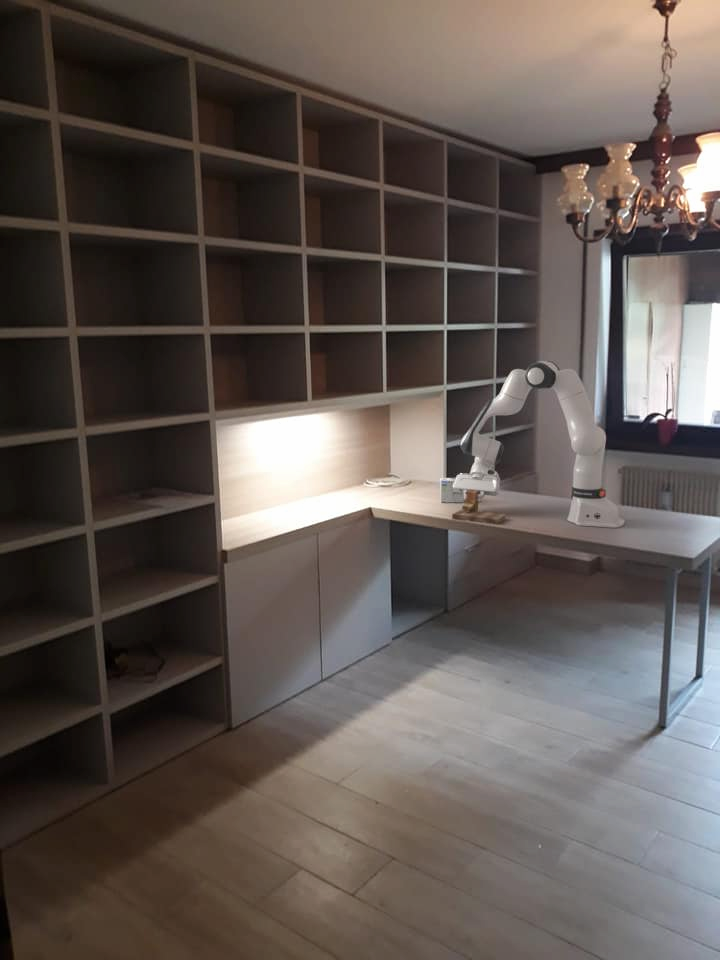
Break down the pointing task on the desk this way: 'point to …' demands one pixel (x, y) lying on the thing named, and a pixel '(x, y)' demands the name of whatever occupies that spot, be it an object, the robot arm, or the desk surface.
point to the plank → (479, 516)
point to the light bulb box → (449, 491)
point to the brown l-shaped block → (471, 501)
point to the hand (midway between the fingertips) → (471, 500)
